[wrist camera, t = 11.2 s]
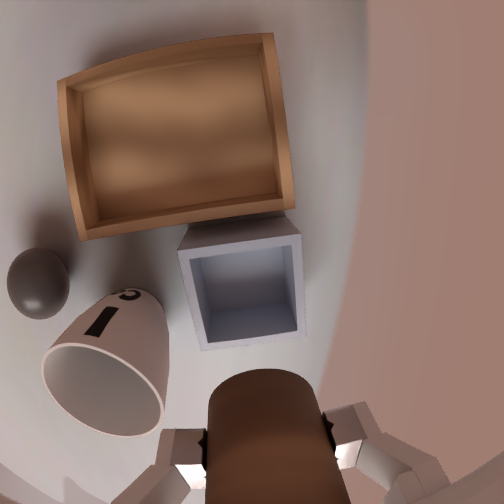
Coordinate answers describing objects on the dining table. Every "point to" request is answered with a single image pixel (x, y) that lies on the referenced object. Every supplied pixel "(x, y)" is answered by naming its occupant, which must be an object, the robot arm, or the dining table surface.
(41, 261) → the dark gray ball
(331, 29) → the dining table surface
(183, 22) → the dining table surface
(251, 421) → the walnut peg
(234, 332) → the pen pot
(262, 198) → the oak tray
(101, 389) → the cup
